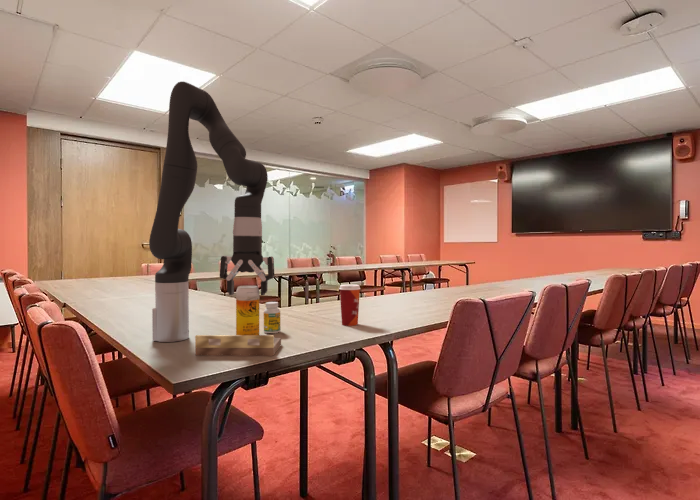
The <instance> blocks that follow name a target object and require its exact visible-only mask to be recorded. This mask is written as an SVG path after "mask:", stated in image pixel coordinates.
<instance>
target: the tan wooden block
mask: <svg viewBox="0 0 700 500" xmlns="http://www.w3.org/2000/svg"><path fill="white" fill-rule="evenodd" d="M274 335H275V334H272V335H271V334H268V335H267V334H266V335H265V334H263V335H261V334H259V335H236V334H233V335H232V334H228V335H227V334H225V335H224V334H221V335H220V334H197V335H195V336H194V339H195V342H194V343H195V350H194V351H195V354H194V355H195V356H221V357H222V356H229V357H230V356H233V357H234V356H238V357H239V356H244V357H245V356H247V357H248V356H249V357H250V356H259V357H260V356H264V357H265V356H267V357H268V356H270V357H272V356H274V355H275V354H276V353H277V352H278V350H279V349H278V348H280V347H281V346H280V345H282V337H275V336H274ZM275 352H276V353H275Z"/></svg>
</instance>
